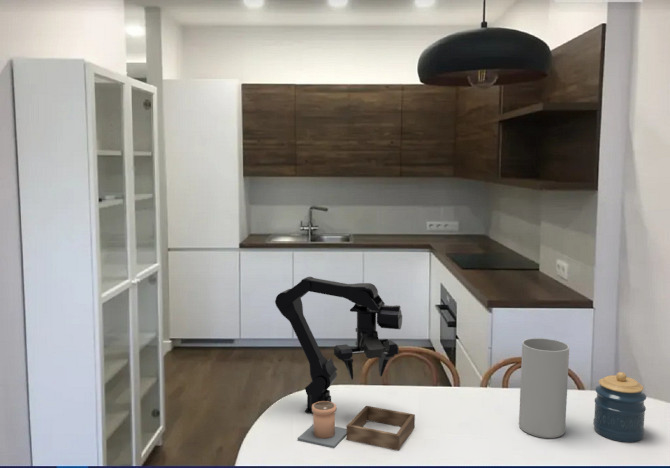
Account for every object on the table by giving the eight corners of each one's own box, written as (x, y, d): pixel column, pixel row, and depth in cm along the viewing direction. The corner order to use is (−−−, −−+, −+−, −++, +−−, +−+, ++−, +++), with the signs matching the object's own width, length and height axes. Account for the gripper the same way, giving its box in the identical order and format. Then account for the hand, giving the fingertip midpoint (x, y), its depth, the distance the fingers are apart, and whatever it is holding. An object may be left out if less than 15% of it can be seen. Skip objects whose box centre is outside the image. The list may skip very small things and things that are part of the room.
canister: (639, 426, 167) (643, 367, 165) (647, 446, 155) (652, 383, 153) (591, 420, 171) (594, 362, 170) (595, 438, 159) (598, 377, 157)
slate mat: (297, 440, 157) (297, 438, 157) (315, 424, 167) (315, 422, 167) (334, 448, 153) (334, 446, 153) (350, 431, 163) (350, 429, 163)
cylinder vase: (522, 416, 173) (525, 336, 171) (566, 425, 168) (570, 341, 165) (515, 433, 162) (519, 347, 159) (563, 442, 157) (567, 353, 154)
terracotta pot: (308, 436, 158) (307, 408, 157) (318, 426, 164) (318, 399, 164) (330, 440, 155) (330, 412, 155) (340, 430, 162) (340, 403, 161)
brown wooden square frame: (346, 439, 158) (346, 425, 157) (365, 418, 171) (366, 405, 171) (398, 450, 152) (398, 436, 151) (414, 427, 165) (414, 414, 165)
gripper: (345, 336, 159) (345, 390, 161) (406, 331, 165) (406, 383, 167) (333, 326, 170) (333, 377, 172) (391, 321, 175) (391, 371, 177)
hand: (366, 377), depth 171 cm, fingers open, 9 cm apart
